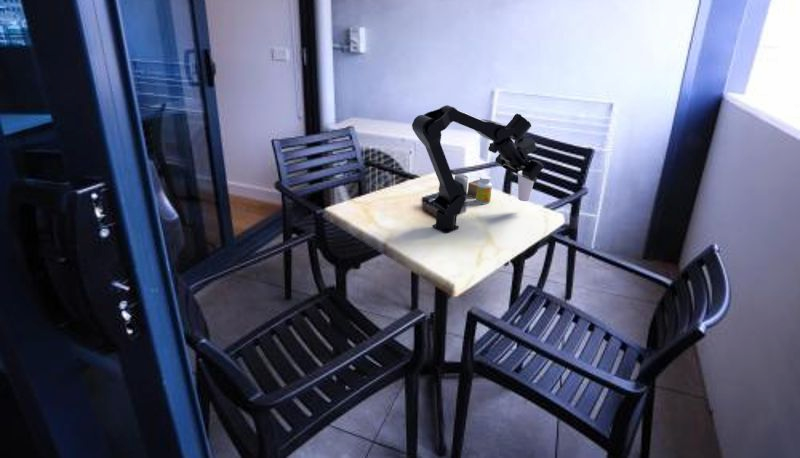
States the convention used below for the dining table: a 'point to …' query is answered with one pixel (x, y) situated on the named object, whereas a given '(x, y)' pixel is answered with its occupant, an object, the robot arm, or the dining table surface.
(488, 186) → the supplement bottle
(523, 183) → the smoothie
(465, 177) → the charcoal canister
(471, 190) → the walnut block
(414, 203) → the dining table surface
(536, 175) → the robot arm
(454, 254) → the dining table surface
